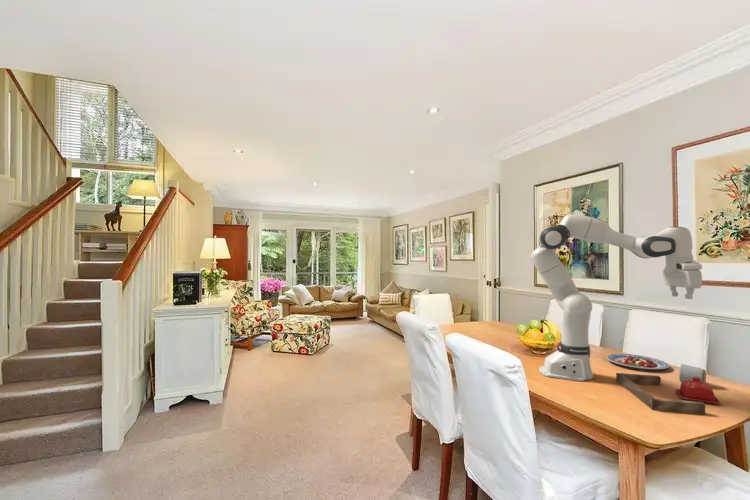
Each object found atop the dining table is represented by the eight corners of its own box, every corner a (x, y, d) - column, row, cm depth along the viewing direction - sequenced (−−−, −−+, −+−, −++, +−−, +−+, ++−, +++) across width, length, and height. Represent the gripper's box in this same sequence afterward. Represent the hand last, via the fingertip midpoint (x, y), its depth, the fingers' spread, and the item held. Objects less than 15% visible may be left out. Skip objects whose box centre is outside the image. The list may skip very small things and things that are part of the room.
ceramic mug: (704, 388, 145) (704, 369, 145) (678, 383, 151) (678, 365, 151) (707, 382, 152) (707, 365, 152) (682, 377, 158) (682, 360, 158)
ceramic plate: (620, 355, 195) (620, 349, 195) (678, 367, 173) (678, 361, 173) (596, 362, 181) (596, 356, 182) (655, 376, 159) (655, 370, 159)
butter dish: (674, 391, 143) (673, 370, 143) (711, 396, 137) (711, 375, 137) (681, 401, 133) (680, 379, 133) (722, 407, 127) (721, 384, 127)
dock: (652, 409, 125) (652, 399, 125) (616, 380, 154) (616, 372, 154) (705, 414, 121) (705, 404, 121) (658, 383, 150) (658, 375, 150)
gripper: (657, 264, 157) (659, 295, 156) (685, 265, 137) (688, 300, 136) (673, 264, 155) (675, 294, 155) (705, 265, 135) (707, 300, 135)
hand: (681, 297), depth 145 cm, fingers open, 8 cm apart
